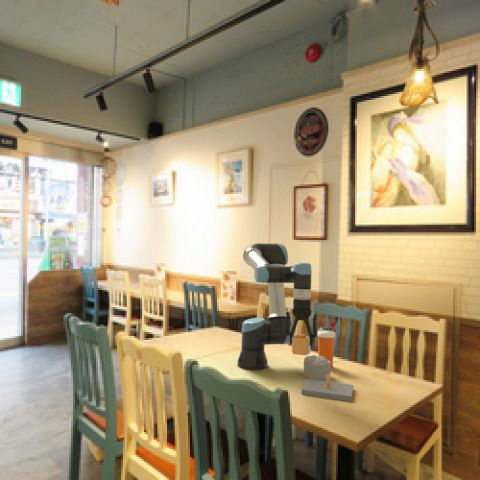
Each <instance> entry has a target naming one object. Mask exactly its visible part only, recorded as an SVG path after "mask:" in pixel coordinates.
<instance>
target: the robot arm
mask: <svg viewBox="0 0 480 480" xmlns="http://www.w3.org/2000/svg"><path fill="white" fill-rule="evenodd" d="M242 257H243V261H244V262H245V264H247V265H248V266H250V267H251V268H252V269H253V271H254V281H255V282H256V283H259V284H260V283H261V284H267V293H268V306H269V315H268V317H267V318H266V319H267V320H266V319H265V318H263V317H252V318H249V319H246V320H244V321H243V322H242V325H241V350H240V354H239V357H238V358H237V366H238V367H239V368H241V369H243V370H249V371H250V370H251V371H252V370H253V371H256V370H257V371H258V370H264V369H266V368H267V367H268V359H267V355H266V352H265V347H266V346H265V345H268V346H269V345H281V346H282V345H288V344H290V345H291V352H292V353H293V337H294V336H295V332H296V330H297V326H298V323H299V321H304V323H305V326H306V330H307V333H308V336H309V338H308V351H307V355H310V354H311V347H313V345H314V338H318V336H317V335H318V315H319V314H318V313H317V312H316V313H315V312H312V308H311V307H312V273H313V271H312V264H311V263H309V262H295V263H294V265H290V266H286V265H287V264H288V261H289V253H288V250H287V247H286V246H285V244H282V243H260V242H259V243H257V242H256V243H253V244H251V245H248V246H247V247H246V248H245V249H244V251H243V255H242ZM285 284H293V294H292V295H293V297H292V298H293V300H292V303H293V304H292V307H293V308H292V310H288V311H287V307H286V296H285V295H286V293H285ZM292 316H294V320H292ZM310 317H311V319H312V327H311V323H310V319H309V318H310Z"/></svg>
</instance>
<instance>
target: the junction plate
mask: <svg viewBox="0 0 480 480" xmlns="http://www.w3.org/2000/svg"><path fill="white" fill-rule="evenodd" d="M353 393H354V384H349V383H341V382H334V381H331V374H330V375H326V379H325V380H315V379H312V378H306V380H305V383H304V384H303V386H302V388H301V395H303V396H304V395H306V396H312V397H319V398H324V399H332V400H339V401H347V402H352V399H353Z"/></svg>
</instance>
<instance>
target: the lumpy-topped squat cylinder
mask: <svg viewBox="0 0 480 480" xmlns="http://www.w3.org/2000/svg"><path fill="white" fill-rule="evenodd" d="M331 369H332V368H331V362H330V361H329V360H326V359H325V357H324V356H320V357H318V355H315V354H312V355H307V356H305V357H304V358H303V375H304V376H305V377H307V378H308V379H313V380H320V381H324V380H326V375H330V376H331Z"/></svg>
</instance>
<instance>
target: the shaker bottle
mask: <svg viewBox="0 0 480 480" xmlns="http://www.w3.org/2000/svg"><path fill="white" fill-rule="evenodd" d="M334 329H335V328H334V327H330V326H325V327H324V326H323V325H321V326H320V327H319V328H318V330H317V334H318V335H317V357H320V356H324V357H325V359H326V360H329V361H330V362H331V369H332V368H333V367H334V365H333V364H334V354H335V353H334V352H335V338H336V332H335V331H334Z"/></svg>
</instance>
